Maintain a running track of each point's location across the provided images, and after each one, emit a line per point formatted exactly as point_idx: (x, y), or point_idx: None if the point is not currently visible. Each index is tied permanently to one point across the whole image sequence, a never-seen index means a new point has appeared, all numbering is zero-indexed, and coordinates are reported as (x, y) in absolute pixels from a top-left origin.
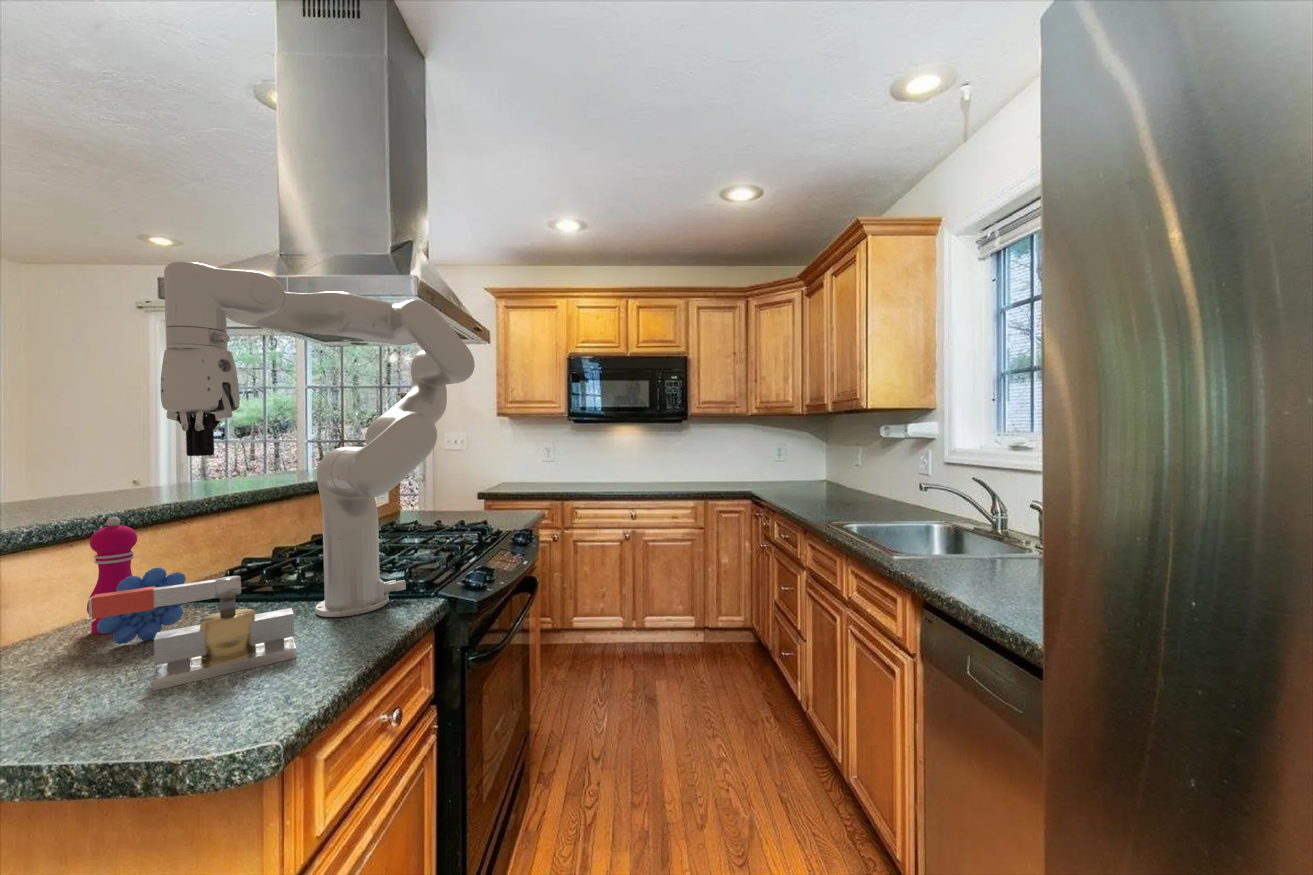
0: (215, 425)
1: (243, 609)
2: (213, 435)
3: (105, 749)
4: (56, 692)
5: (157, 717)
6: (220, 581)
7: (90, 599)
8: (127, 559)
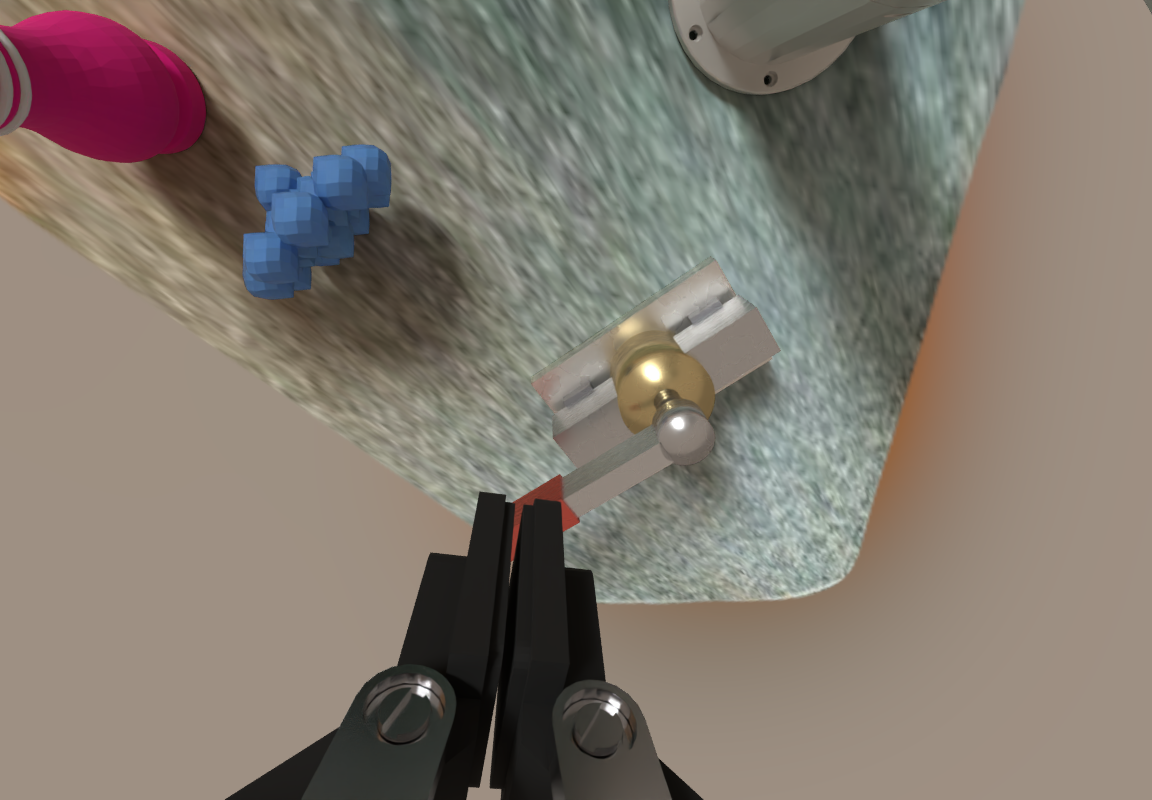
0: (670, 788)
1: (674, 360)
2: (565, 620)
3: (661, 583)
4: (435, 451)
5: (666, 526)
6: (687, 463)
7: None
8: (28, 80)
